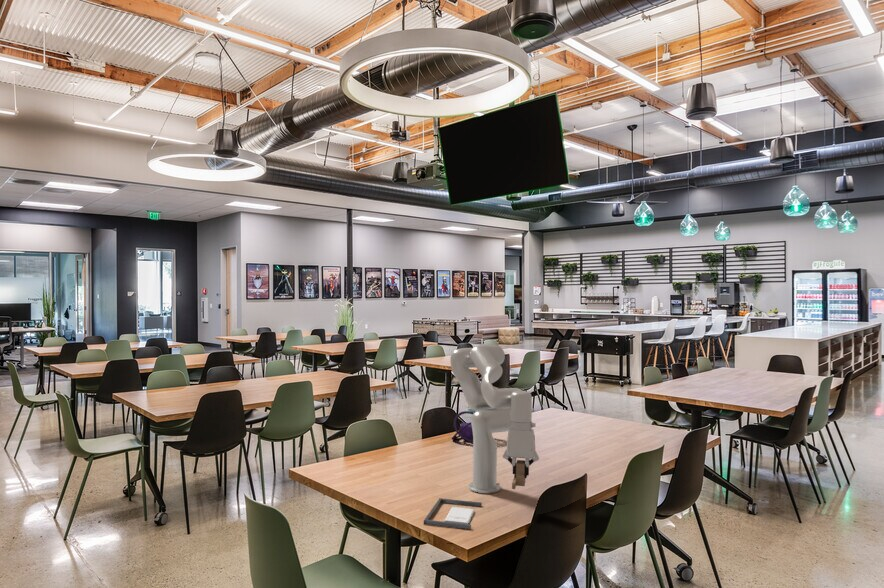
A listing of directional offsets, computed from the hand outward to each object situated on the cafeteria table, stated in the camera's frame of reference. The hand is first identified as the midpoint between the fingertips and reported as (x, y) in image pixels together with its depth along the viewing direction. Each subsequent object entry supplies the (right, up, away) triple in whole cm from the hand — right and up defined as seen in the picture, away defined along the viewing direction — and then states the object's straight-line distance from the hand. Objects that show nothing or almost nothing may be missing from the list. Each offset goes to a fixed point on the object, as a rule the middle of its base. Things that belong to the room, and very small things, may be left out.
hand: (520, 476), depth 196 cm
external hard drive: (-22, -12, -8) cm, 27 cm away
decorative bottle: (-13, -14, +100) cm, 102 cm away
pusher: (0, -3, 0) cm, 3 cm away
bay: (-24, -12, -6) cm, 27 cm away
